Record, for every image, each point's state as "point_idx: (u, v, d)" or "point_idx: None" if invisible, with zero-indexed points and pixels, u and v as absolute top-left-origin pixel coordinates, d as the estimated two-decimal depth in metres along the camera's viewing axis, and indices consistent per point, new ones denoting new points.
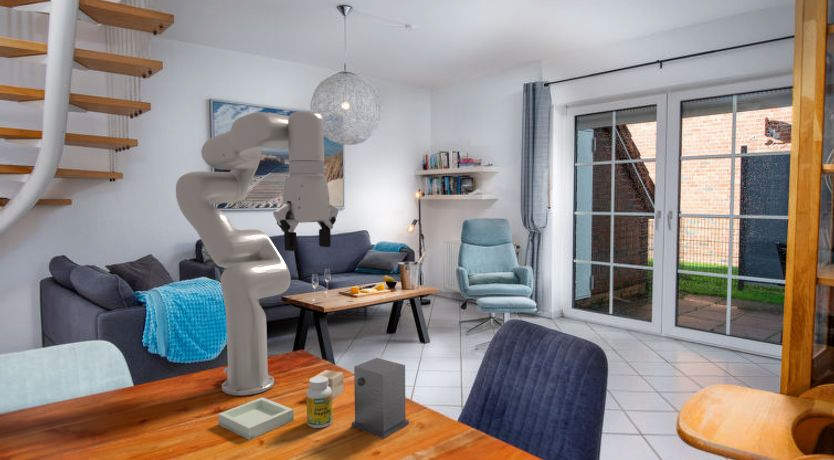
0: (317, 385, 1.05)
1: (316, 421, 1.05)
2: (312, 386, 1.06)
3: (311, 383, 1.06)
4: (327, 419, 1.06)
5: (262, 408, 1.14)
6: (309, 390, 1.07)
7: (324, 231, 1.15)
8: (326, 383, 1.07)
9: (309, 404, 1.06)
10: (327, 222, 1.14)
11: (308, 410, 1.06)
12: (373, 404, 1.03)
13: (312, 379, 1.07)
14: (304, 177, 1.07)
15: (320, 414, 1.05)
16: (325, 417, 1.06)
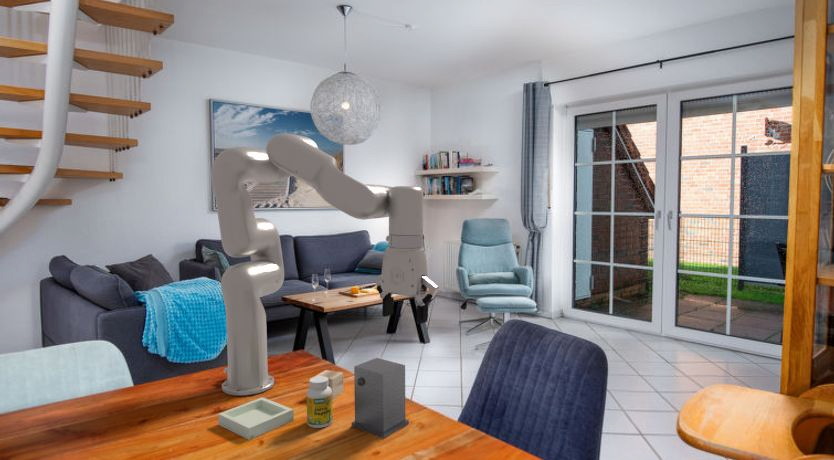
0: (317, 385, 1.05)
1: (316, 421, 1.05)
2: (312, 386, 1.06)
3: (311, 383, 1.06)
4: (327, 419, 1.06)
5: (262, 408, 1.14)
6: (309, 390, 1.07)
7: (390, 300, 1.16)
8: (326, 383, 1.07)
9: (309, 404, 1.06)
10: None
11: (308, 410, 1.06)
12: (373, 404, 1.03)
13: (312, 379, 1.07)
14: None
15: (320, 414, 1.05)
16: (325, 417, 1.06)
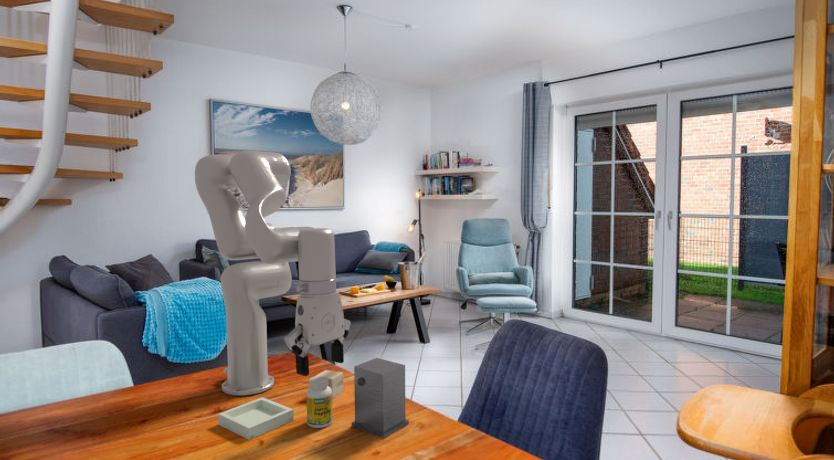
0: (317, 385, 1.05)
1: (316, 421, 1.05)
2: (312, 386, 1.06)
3: (311, 383, 1.06)
4: (327, 419, 1.06)
5: (262, 408, 1.14)
6: (309, 390, 1.07)
7: None
8: (326, 383, 1.07)
9: (309, 404, 1.06)
10: None
11: (308, 410, 1.06)
12: (373, 404, 1.03)
13: (312, 379, 1.07)
14: None
15: (320, 414, 1.05)
16: (325, 417, 1.06)
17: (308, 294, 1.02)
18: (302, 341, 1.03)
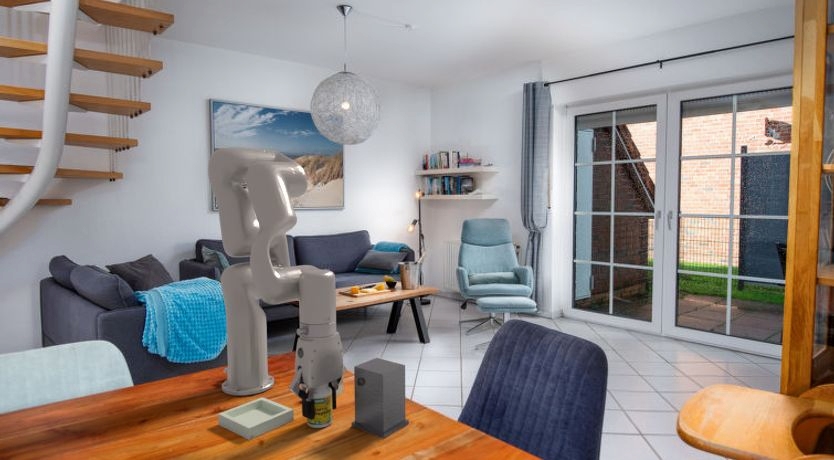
0: None
1: (316, 421, 1.05)
2: None
3: None
4: (327, 419, 1.06)
5: (262, 408, 1.14)
6: None
7: None
8: None
9: None
10: None
11: None
12: (373, 404, 1.03)
13: None
14: None
15: (320, 414, 1.05)
16: (324, 417, 1.06)
17: (308, 337, 1.03)
18: (305, 385, 1.05)
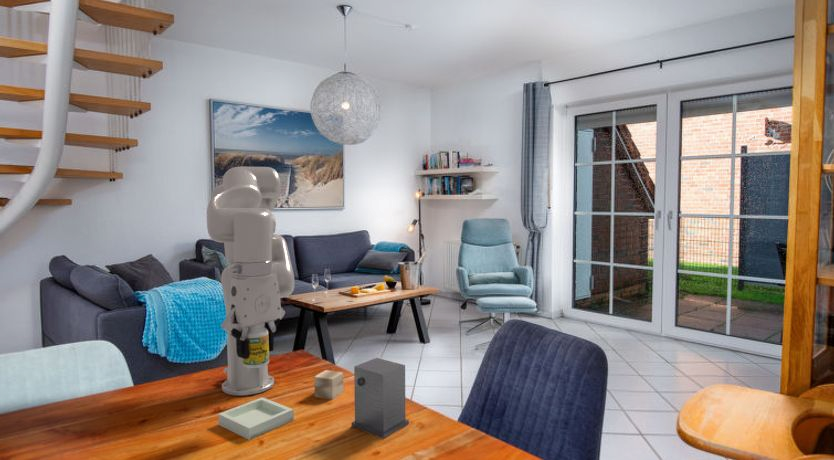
0: None
1: (250, 360, 1.05)
2: None
3: None
4: (262, 359, 1.06)
5: (262, 408, 1.14)
6: None
7: None
8: None
9: None
10: None
11: None
12: (373, 404, 1.03)
13: None
14: None
15: (254, 354, 1.05)
16: (260, 357, 1.05)
17: (242, 275, 1.03)
18: (239, 325, 1.04)
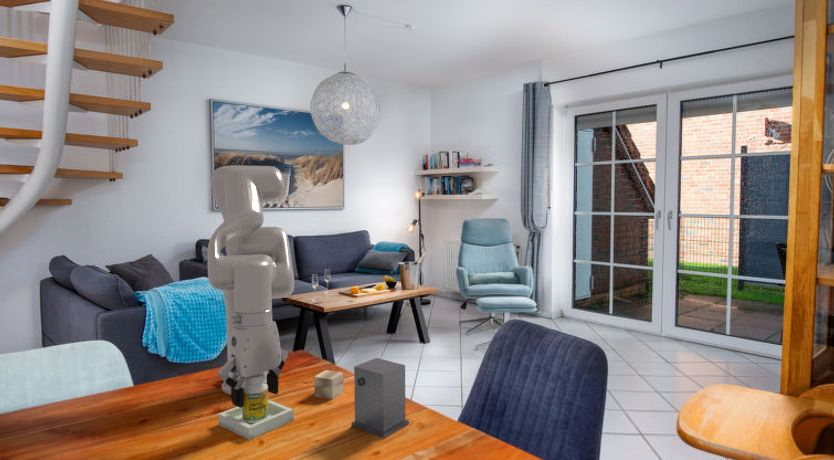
0: (251, 381, 1.06)
1: (250, 416, 1.06)
2: (247, 381, 1.06)
3: (246, 378, 1.06)
4: (262, 414, 1.07)
5: None
6: (244, 385, 1.07)
7: None
8: (261, 378, 1.07)
9: (244, 400, 1.06)
10: None
11: (243, 406, 1.06)
12: (373, 404, 1.03)
13: None
14: None
15: (254, 410, 1.06)
16: (259, 412, 1.06)
17: (242, 326, 1.03)
18: (237, 373, 1.04)
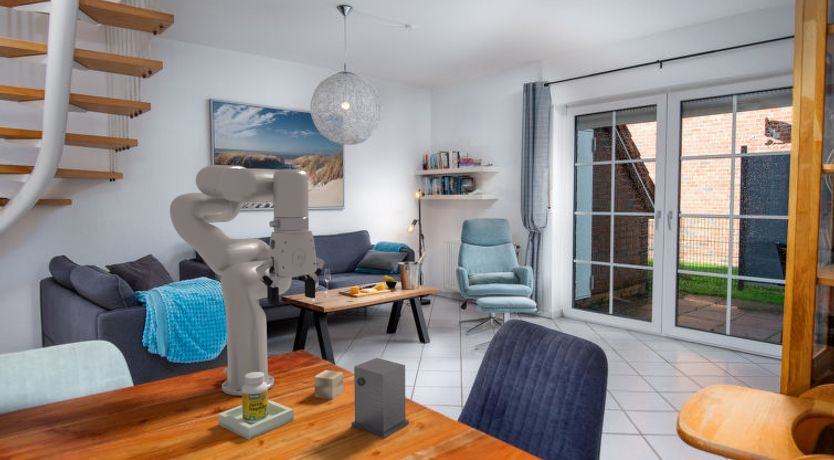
0: (252, 381, 1.06)
1: (250, 416, 1.06)
2: (247, 381, 1.06)
3: (246, 378, 1.06)
4: (262, 414, 1.07)
5: None
6: (244, 386, 1.07)
7: None
8: (262, 378, 1.07)
9: (244, 400, 1.06)
10: None
11: (243, 406, 1.06)
12: (373, 404, 1.03)
13: (248, 375, 1.08)
14: None
15: (254, 410, 1.06)
16: (260, 412, 1.06)
17: (280, 229, 1.10)
18: (274, 273, 1.11)
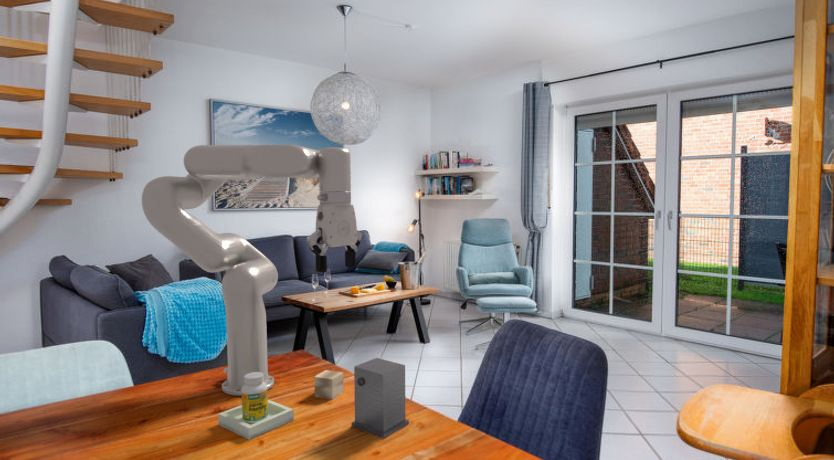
0: (251, 381, 1.06)
1: (250, 416, 1.06)
2: (246, 382, 1.06)
3: (245, 379, 1.06)
4: (262, 414, 1.07)
5: None
6: (244, 386, 1.07)
7: None
8: (261, 379, 1.07)
9: (243, 400, 1.06)
10: None
11: (243, 406, 1.06)
12: (373, 404, 1.03)
13: (247, 375, 1.08)
14: None
15: (254, 410, 1.06)
16: (259, 412, 1.06)
17: (327, 202, 1.19)
18: (321, 243, 1.20)
